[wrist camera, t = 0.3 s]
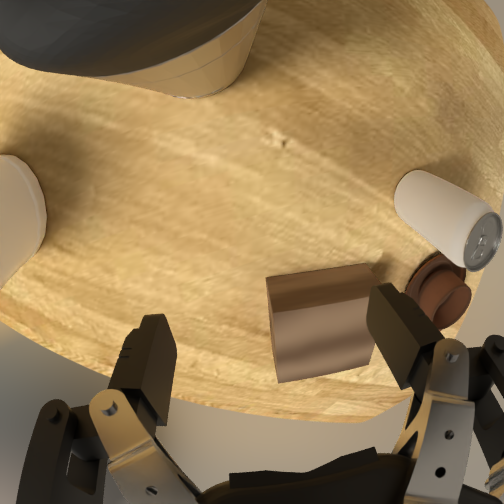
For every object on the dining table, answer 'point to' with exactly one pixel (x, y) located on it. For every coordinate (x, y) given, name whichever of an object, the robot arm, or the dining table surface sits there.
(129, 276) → the dining table surface
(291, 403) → the dining table surface
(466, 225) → the can
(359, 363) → the walnut block
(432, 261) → the cup and saucer
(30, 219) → the bottle
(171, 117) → the dining table surface
